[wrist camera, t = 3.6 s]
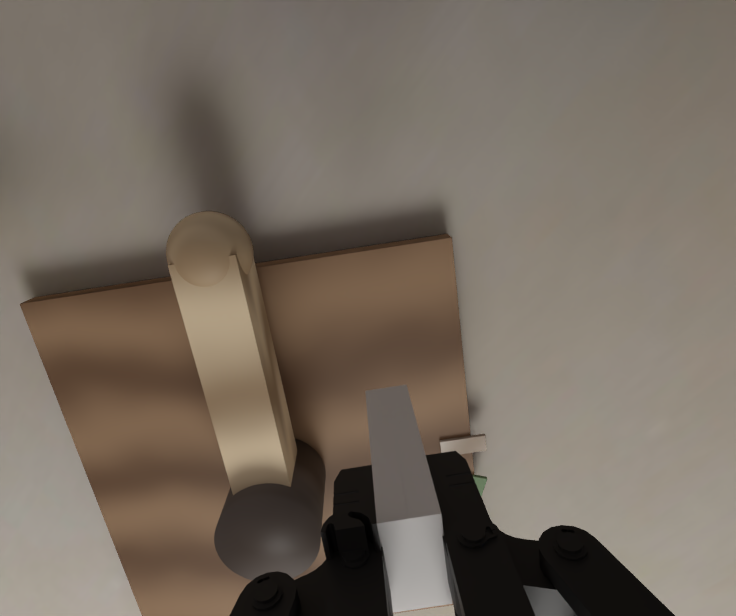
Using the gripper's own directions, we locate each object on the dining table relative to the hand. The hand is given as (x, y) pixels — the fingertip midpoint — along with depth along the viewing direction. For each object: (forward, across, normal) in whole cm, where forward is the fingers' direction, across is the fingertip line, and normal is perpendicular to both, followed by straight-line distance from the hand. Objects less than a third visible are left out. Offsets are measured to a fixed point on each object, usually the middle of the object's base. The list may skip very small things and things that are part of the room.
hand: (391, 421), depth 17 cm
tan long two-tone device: (+8, -7, -6) cm, 12 cm away
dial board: (+10, -6, -7) cm, 14 cm away
